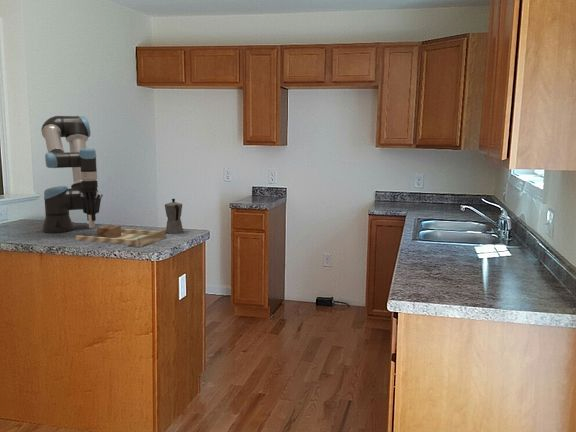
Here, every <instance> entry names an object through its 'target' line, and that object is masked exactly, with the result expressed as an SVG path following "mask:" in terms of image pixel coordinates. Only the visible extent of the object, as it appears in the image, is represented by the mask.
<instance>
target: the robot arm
mask: <svg viewBox="0 0 576 432" xmlns="http://www.w3.org/2000/svg"><path fill="white" fill-rule="evenodd" d="M41 136H42V137H43V138H44V139H45V144H46V149H47V152H45V155H44V160H45V161H44V162H45V166H46V168H49V169H64V168H65V169H67V168H71V171H72V172H71V173H72V179H73V180H72V181H73V183H72V184H71V185H70V188H68V186H67V185H59V186H54V187H53V186H52V187H49V188H46V189H45V190H44V192H43V195H44V196H43V200H44V212H45V213H44V214H45V215H44V216H45V217H44V222H43V226H42V232H43V233H49V234H57V233H68V232H71V231H72V232H73V230H74V227H75V226H74V224H73V222H72V219H71V216H70V211H76V210H77V211H78V210H80V211H81V210H82V212H83V214H86V217H87V218H86V219H87V222H88V228H89V229H93V228H96V221H97V219H96V218H97V217H96V215H97V214H99V213H100V209H101V200H102V198H103V194H100V193H99V190H98V171H97V153H96V149H95V148H87V144H86V143H87V142H88V140H89V138H90V136H91V127H90V122H89V120H88V118H87V117H86V116H84V115H83V116H81V115H54V116H51V117H49V118H48V119H46V121H45V122H43V124H42V125H41ZM61 138H65V141H66V142H67V143H69V145H68V146H69V151H68V152H66V151H65V149H64V146H63V142H62V139H61Z"/></svg>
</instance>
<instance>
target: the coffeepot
mask: <svg viewBox="0 0 576 432" xmlns="http://www.w3.org/2000/svg"><path fill="white" fill-rule="evenodd" d="M171 200H172V201H171V202H168V203H165V204H164V209H165V214H166V215H165V216H166V218H167V221H166V225H165V226H166V227H165V230H166V235H167V234H169V235H178V233H180V234H182V232H184V229H183V224H182V223H183V222H182V219H181V217H182V210H183V203H181V202H176V198H172V199H171Z"/></svg>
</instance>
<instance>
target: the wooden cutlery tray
mask: <svg viewBox="0 0 576 432" xmlns="http://www.w3.org/2000/svg"><path fill="white" fill-rule="evenodd" d="M166 238H167V233H166V229H161V230H146V229H143V230H142V229H132V228H121V236H119V237H116V238H106V237H97V233H94V234H91V235H78V234H77V235H75V236H74V240H75V241H81V242H82V241H84V242H93V243H94V242H95V243H107V244H108V243H109V244H121V245H127V247H131V246H133V247H134V248H142V247H145V246H147V245H150V244H151V245H152V244H154V243H155V242H158V241H161V240H163V239H166Z"/></svg>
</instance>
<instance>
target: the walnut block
mask: <svg viewBox="0 0 576 432" xmlns="http://www.w3.org/2000/svg"><path fill="white" fill-rule="evenodd" d="M121 229H122V226H121V225H110V224H106V225H102V226H99V227H97V228H96V234H97V237H106V238H116V237H119V236H121Z"/></svg>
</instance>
